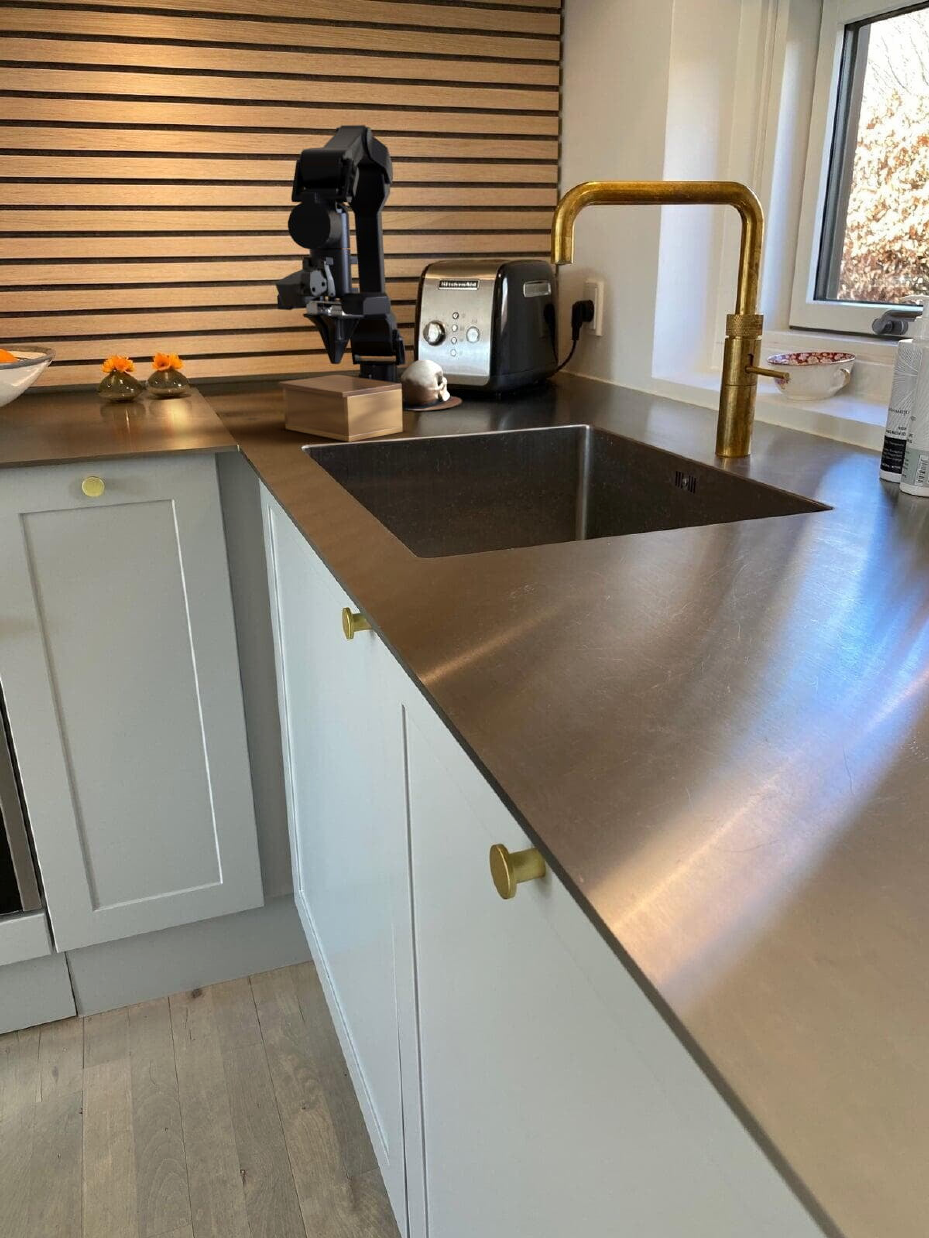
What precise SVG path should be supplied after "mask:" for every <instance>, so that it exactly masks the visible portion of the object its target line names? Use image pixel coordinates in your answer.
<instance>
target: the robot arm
mask: <svg viewBox="0 0 929 1238" xmlns="http://www.w3.org/2000/svg"><path fill="white" fill-rule="evenodd" d="M393 180H394V165H393V161H392V158H391V155H390V152H389V148H388V146H387V145H385V144H384V143H382V142H381V141H380V140H379V139H377V138H376V137H375V136H374V135H373V132H372V129H371V127H370V126H366V125H365V124H351V125H349V124H348V125H347V124H346V125H345V124H344V125H343V124H341V125H339V126H338V127H336V128H335V133H334V134H333V136H331V138H330V139H329V140H328V141H327V142H326V143H325V144H324V145H323V146H322V147H310V148H309V147H308V148H304V149H302V150H301V152H300V153H299V158H297V159H296V162H295V168H294V176H293V181H292V189H291V195H290V201H291V202H292V203H298V204H297V205H295V206H294V207H293V208H292V210H291V211H290V213H289V215H288V220H287V230H288V233H289V236H290V238H291V239H292V240H293V242H294V243H295V244H296V245H298V246H299V247H301V248H303V249H306V250H309V256H303V258H302V260H301V267H302V268H301V269H299V270H298V271H297V270H296V271H295V272H292V273H290V274H288V275H287V276H284V277H283V278H280V279H279V280H277V281H276V282H275V283H274V286H275V288H276V290H277V295H276V299H277V300H276V302H277V303H276V304H277V310H282V311H292V310H294V309H306V310H305V311H306V313H302V316H303V317H304V318H305V319H308V320H309V321H310V322H311V323H312V324H313V325H315V326H316V327H315V328H317V331H318V333H319V336H320V338H321V340H322V343H323V346H324V349H325V351H326V354H327V356H328V357H327V358H328V359H329V362H330V364H331V365H339V364H341V362H342V359H343V357H344V354H345V352H346V350H347V348H348V345H349V343H350V353H351V359H352V365H353V366H356V365H359V373H358V378H364V379H371V380H378V381H385V382H393V383H399V381H398V380H399V377H398V376H399V375H398V373H399V372H398V366H402V365H406V364H407V363H406V362H407V357H406V347H405V341H404V338H403V336H402V333H401V330H400V329H399V328H398V321H397V317H396V315H395V313H394V312H393V310H392V309H391V307H392V306H391V302H392V301H391V298H390V297H389V295H388V293H387V290H386V273H385V253H384V236H383V235H384V232H383V216H382V215H383V214H382V211H383V210H384V207H385V205H386V203H387V201H388V199H389V196H390V195H391V185H392V184H393V182H394V181H393ZM345 203H347V204H348V205H346V204H345ZM348 206H349V208H350V210H351V211H352V212H353V216H354V230H355V231H354V232H355V245H356V256H352V254H351V253H352V251H351V229H350V227H351V226H350V225H351V224H350V212H349V208H348ZM352 265H357V271H358V272H357V275H358V287H353V281H352V280H353V277H352V275H353V274H352ZM394 357H395V358H394ZM402 398H404V397H403V395H402Z"/></svg>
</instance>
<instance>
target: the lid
mask: <svg viewBox="0 0 929 1238" xmlns="http://www.w3.org/2000/svg"><path fill="white" fill-rule="evenodd" d="M277 385H278V388H282V389H283V388H287V389H293V390H299V391H306V392H312V393H318V394H324V395H330V396H336V397H342V398H343V397H350V396H356V395H363V394H369V393H376V392H382V391H389V390H395V389H401V388H402V384H400V382H398V383H393V382H385V381H378V380H371V379H364V378H359V377H358V376H350V375H342V374H331V375H330V374H329V375H324V376H317V377H309V378H300V379H293V380H285V381H278V383H277Z"/></svg>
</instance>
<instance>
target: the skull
mask: <svg viewBox="0 0 929 1238" xmlns="http://www.w3.org/2000/svg"><path fill="white" fill-rule="evenodd" d="M399 381H400V382H399V383H400V384H402V388H401V389H402V395H403V397H404V398H402V410H405V411H433V410H443V409H447V408H453V407H455V406H458V405H460V404H462V402H463V400H462V399H461V398H460V397H458V396H453V395H450V393H449V391H448V390H447V384H448V381H447V379H446V377H444V372H443V369H442V367H441V366H440V365H439V364H437V363H436V362H434V361H432V360H430V359H418V360H416V361H413V362H412V363H411V364H410V365H409V366H408V367H407V368H406V369H405V370H404V372H403V373H402V374H401V376H400V380H399Z"/></svg>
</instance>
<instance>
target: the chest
mask: <svg viewBox="0 0 929 1238" xmlns="http://www.w3.org/2000/svg"><path fill="white" fill-rule="evenodd" d="M282 394H283V395H282V396H283V410H284V424H285V429H286V430H289V431H295V432H299V433H303V434H309V435H314V436H319V437H323V438H329V439H334V440H338V441H342V442H347V443H351V442H355V441H361V440H365V439H371V438H377V437H381V436H382V437H383V436H388V435H391V434H392V435H393V434H397V433H403V432H404V431H403V409H402V389H395V390H389V391H382V392H376V393H369V394H363V395H356V396H350V397H343V398H342V397H336V396H330V395H324V394H318V393H312V392H306V391H299V390H293V389H287V388H282Z"/></svg>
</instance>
